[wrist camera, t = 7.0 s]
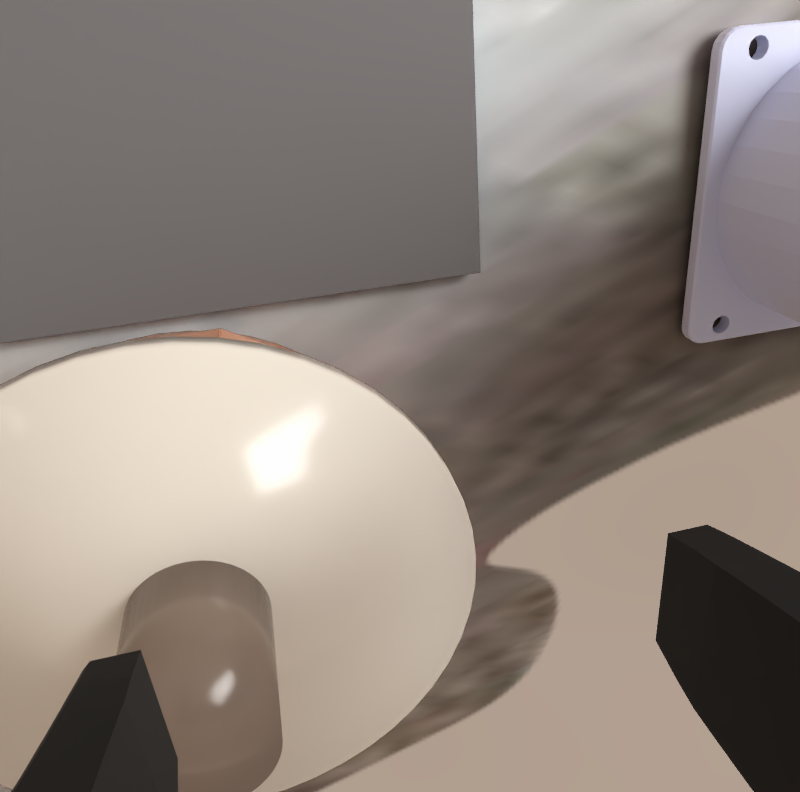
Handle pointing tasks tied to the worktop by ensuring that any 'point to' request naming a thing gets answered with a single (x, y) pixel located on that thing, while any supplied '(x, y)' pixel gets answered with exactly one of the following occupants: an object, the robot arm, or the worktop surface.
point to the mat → (229, 155)
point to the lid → (225, 553)
